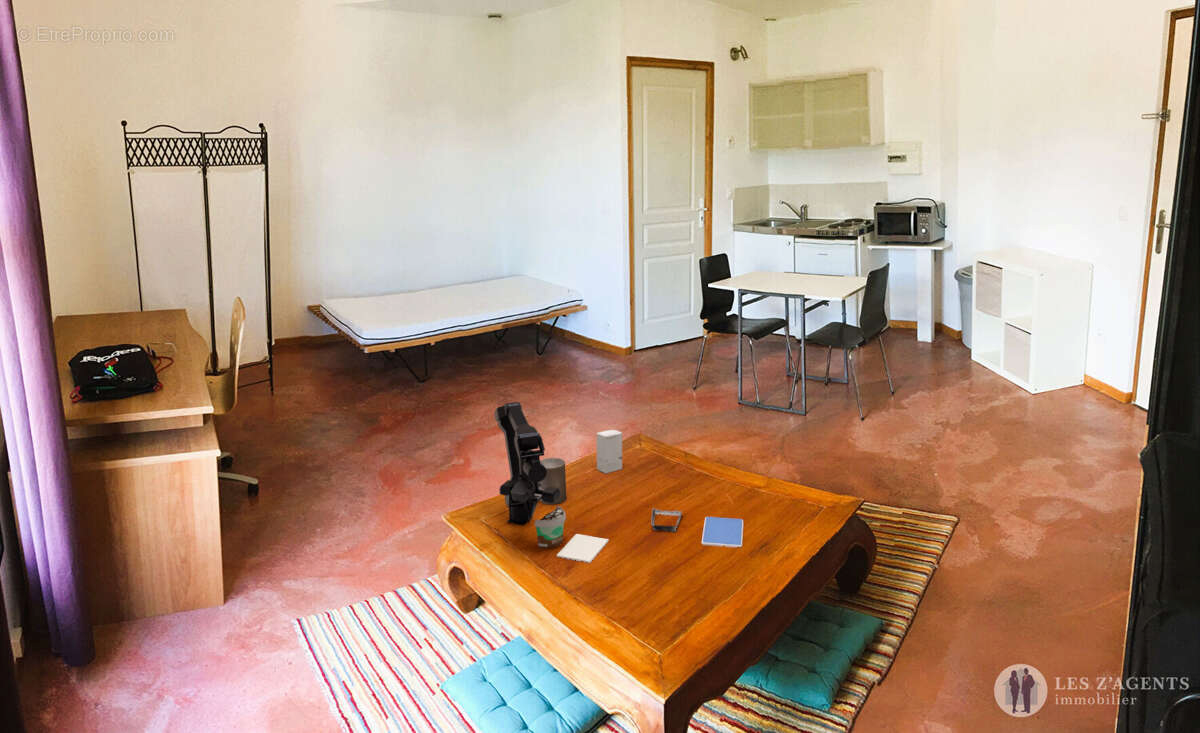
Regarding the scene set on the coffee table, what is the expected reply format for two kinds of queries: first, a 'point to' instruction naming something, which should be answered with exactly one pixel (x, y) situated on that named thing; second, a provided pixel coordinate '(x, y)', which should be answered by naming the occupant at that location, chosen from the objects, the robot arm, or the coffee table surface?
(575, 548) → the white flat rectangular board
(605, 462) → the skincare box
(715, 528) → the blue square panel
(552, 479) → the pillar candle
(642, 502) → the coffee table surface
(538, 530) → the food container
